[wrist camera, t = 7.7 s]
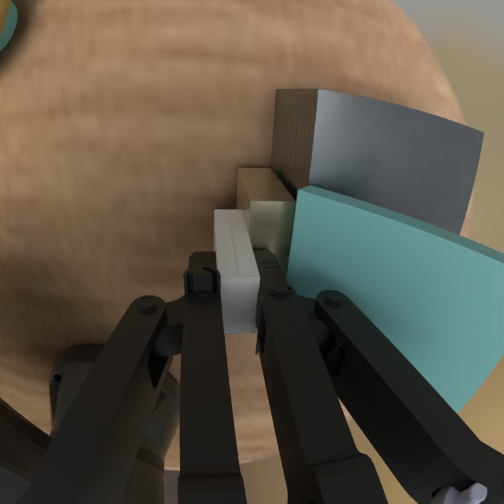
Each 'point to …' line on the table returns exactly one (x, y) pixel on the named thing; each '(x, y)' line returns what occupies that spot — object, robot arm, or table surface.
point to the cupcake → (7, 21)
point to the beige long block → (266, 212)
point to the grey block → (375, 154)
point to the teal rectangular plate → (406, 285)
